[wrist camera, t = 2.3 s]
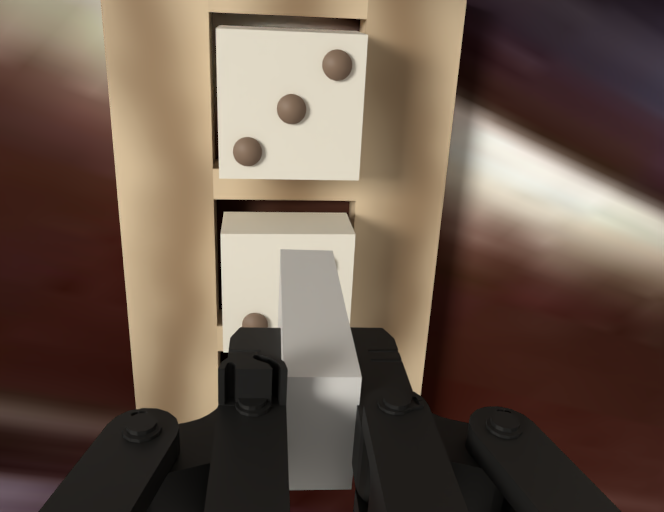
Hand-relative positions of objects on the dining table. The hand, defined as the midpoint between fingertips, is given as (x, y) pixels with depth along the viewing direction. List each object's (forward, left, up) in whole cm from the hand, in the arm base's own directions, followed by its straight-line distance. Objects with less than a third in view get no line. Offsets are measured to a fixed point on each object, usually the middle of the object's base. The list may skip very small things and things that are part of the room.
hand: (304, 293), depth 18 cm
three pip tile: (0, +4, -13) cm, 13 cm away
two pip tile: (0, -5, -13) cm, 14 cm away
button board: (0, -5, -15) cm, 16 cm away
